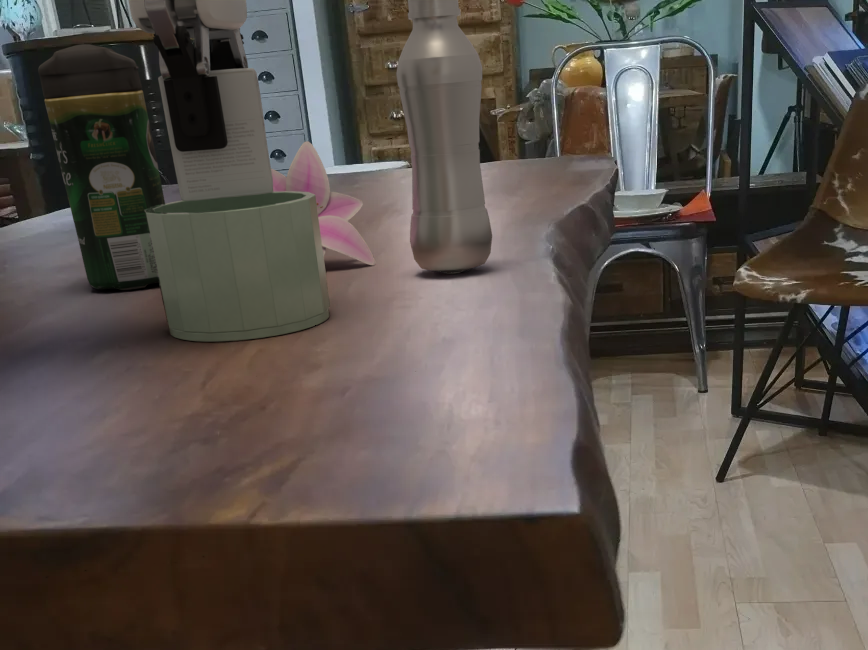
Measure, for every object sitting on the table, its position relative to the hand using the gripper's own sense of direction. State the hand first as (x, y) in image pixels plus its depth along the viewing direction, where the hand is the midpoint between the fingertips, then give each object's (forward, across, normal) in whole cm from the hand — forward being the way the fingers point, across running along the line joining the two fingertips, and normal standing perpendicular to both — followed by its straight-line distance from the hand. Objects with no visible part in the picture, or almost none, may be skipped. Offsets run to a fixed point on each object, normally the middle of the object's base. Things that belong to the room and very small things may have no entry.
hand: (219, 143), depth 72 cm
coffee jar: (+12, -21, -16) cm, 29 cm away
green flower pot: (+12, 0, 0) cm, 12 cm away
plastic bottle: (+12, -16, +13) cm, 24 cm away
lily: (+12, -22, 0) cm, 25 cm away
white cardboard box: (+3, 0, 0) cm, 3 cm away
